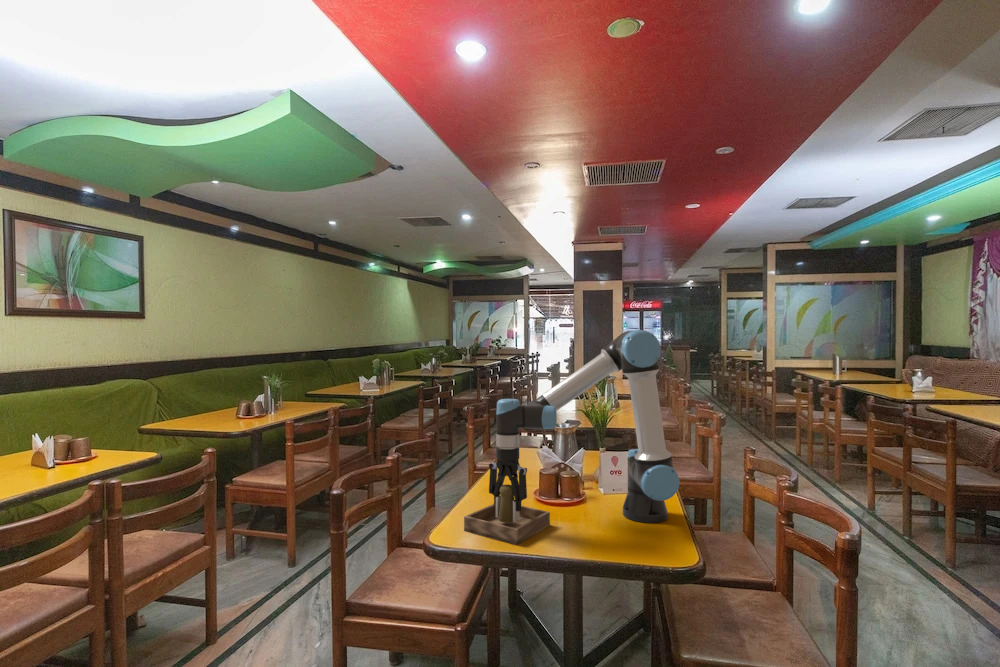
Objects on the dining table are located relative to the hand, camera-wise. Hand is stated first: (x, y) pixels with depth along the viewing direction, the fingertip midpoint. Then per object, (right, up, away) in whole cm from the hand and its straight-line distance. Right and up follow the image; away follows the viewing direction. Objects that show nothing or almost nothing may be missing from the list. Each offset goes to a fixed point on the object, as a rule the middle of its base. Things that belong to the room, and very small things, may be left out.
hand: (507, 518), depth 166 cm
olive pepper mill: (0, -1, 0) cm, 1 cm away
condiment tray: (0, -3, 0) cm, 3 cm away
